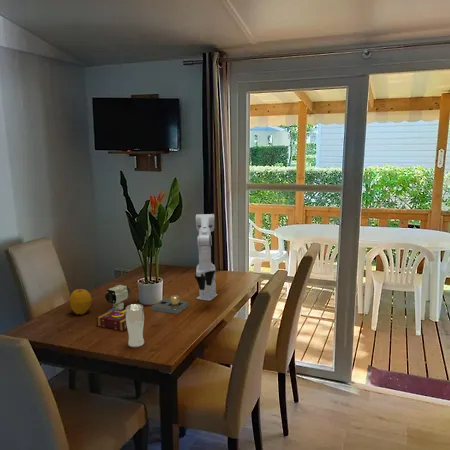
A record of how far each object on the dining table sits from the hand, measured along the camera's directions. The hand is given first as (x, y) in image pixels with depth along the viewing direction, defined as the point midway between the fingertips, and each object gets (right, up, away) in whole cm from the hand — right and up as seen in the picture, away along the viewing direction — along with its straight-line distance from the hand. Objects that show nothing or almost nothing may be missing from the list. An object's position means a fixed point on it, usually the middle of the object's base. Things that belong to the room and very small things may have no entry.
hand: (205, 287), depth 189 cm
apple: (-58, -12, -2) cm, 60 cm away
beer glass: (-25, -17, -34) cm, 46 cm away
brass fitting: (-15, -11, +2) cm, 18 cm away
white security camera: (-42, -11, +2) cm, 43 cm away
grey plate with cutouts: (-17, -10, +3) cm, 20 cm away
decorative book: (-38, -14, -15) cm, 43 cm away
